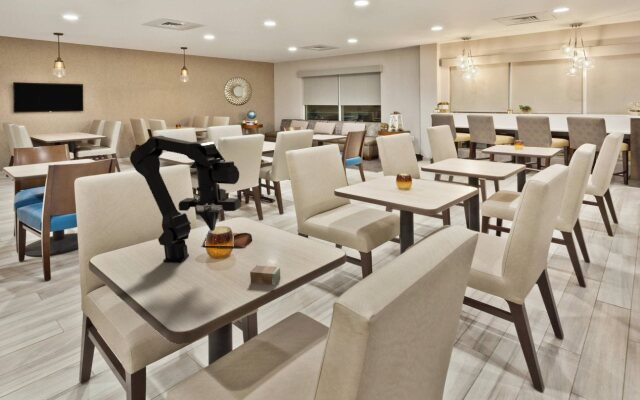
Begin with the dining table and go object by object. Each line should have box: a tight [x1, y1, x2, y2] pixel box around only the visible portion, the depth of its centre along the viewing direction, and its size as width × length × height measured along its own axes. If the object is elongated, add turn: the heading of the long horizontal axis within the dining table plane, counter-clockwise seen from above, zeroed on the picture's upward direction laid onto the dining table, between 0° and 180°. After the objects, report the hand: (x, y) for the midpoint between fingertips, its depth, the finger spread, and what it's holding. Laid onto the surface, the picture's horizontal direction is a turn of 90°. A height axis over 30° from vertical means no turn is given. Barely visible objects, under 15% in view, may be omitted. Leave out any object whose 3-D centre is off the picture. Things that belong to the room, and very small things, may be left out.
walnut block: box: [249, 264, 282, 286], centre depth 124 cm, size 4×5×8 cm
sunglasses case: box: [200, 232, 253, 249], centre depth 156 cm, size 18×7×7 cm, turn 83°
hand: (212, 230), depth 133 cm, fingers closed
